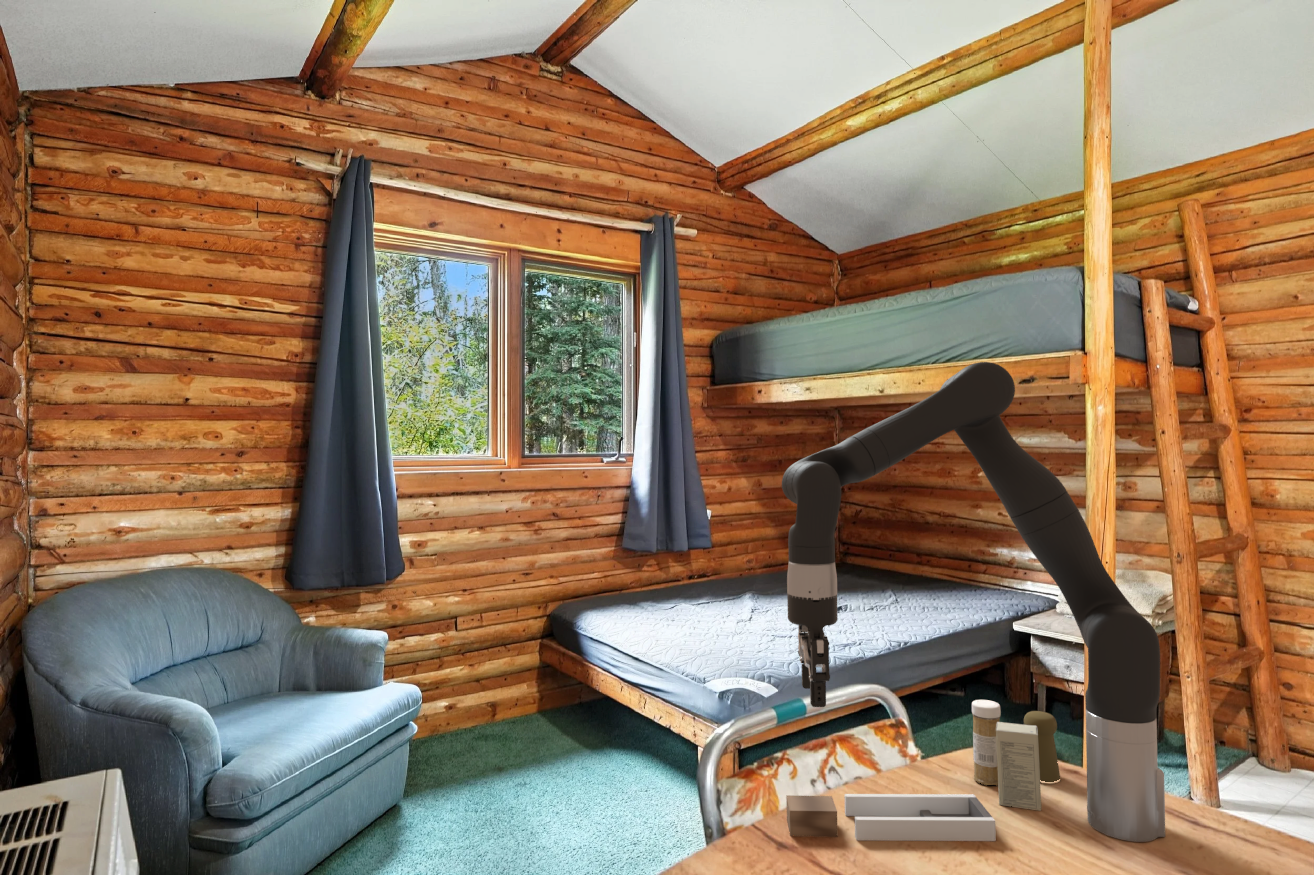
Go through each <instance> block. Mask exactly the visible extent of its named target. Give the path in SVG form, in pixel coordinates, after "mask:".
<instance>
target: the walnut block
mask: <svg viewBox="0 0 1314 875" xmlns="http://www.w3.org/2000/svg"><path fill="white" fill-rule="evenodd" d="M785 798H786V822H787V828H788V832H790V833H789V836H790V837H810V836H813V837H814V838H815V837H816V838H819V837H820V838H821V837H822V838H823V837H825V838H838V837H839V836H838V809H837V807H836V804H835V801H834V798H833V796H832V795H786V796H785ZM793 835H794V836H793Z"/></svg>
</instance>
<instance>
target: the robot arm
mask: <svg viewBox="0 0 1314 875" xmlns="http://www.w3.org/2000/svg"><path fill="white" fill-rule="evenodd" d="M1015 386H1016V385H1015V381H1014V379H1013V377H1012V375H1011V374H1010V372H1009V371H1008V370H1007V369H1006V368H1004V367H1003V366H1002V365H1000V364H998V363H994V362H989V361H980V362H975V363H971V364H969V365H967V366H965V367H963V368H962V369H960V370H959V371H958V372H956V373H955V374H953V375H952V376H951V377H949V378H948V379H947V380H945V382H944V383H943V384H942V385H941V387H940V389H939V390H937V391H936V392H935V393H933V394H931V395H929V396H928V397H926V398H925V399H922V400H921V401H919V402H917V403H915V404H914V405H911V406H910V407H908V408H905V409H903V410H901V411H899V412H897V413H895V414H894V415H893V414H892V415H891V416H889V417H887V418H885V419H883V420H880V421H879V422H877V423H874V424H872V425H870V426H867V427H866V428H864V429H863V430H861V431H859V432H857V433H855V434H853V435H851V436H849V437H847V438H845V440H843V441H841V442H840V443H837V444H836V445H835V444H834V446H831V447H827V448H825V449H822V450H820V451H818V452H817V451H816V452H815V453H812V454H811V455H808V456H806V457H803V458H801V459H799V460H798V461H796V462H794V463H792V464H791V465H790V466H789V467H788V468H787V469H786V470H785V471H784V474H783V475H782V480H781V489H782V492H783V494H784V495H785V497H786V498H787V499H788V500H789V501H790V502H792V503H793V504H796V517H795V523H794V524H793V525H792V526H791V527H790V528H789V530H788V538H787V540H788V541H787V543H788V567H787V574H786V576H787V577H786V584H787V585H786V586H787V587H786V589H787V593H786V594H787V595H786V596H787V619H788V621H789V622H790V623H791V624H793V625H796V626H798V633H797V634H798V635H797V639H798V646H797V648H798V651H797V654H798V656H799V662H800V664H801V686H802V688H803V689H807V690H809V696H810V697H809V700H810V701H809V702H810V705H811V707H813V708H825V707H826V706H827V684H826V683H827V682H829V681H830V680H831V675H830V648H829V647H830V646H829V645H830V642H829V639H828V636H826V635H825V632H824V628H825V627H827V626H833V625H835V624H837V622H838V619H839V618H838V616H839V615H838V577H837V576H838V575H837V569H836V540H835V532H836V528H837V524H838V518H839V513H840V508H841V503H842V502H841V500H842V487H844V486H846V485H849V484H854V483H860V482H864V481H866V480H868V479H870V478H872V477H875V476H876V475H878V474H880V473H882V472H883V471H885V470H888V469H889V468H891V467H892V466H895V465H896V464H898V463H899V462H901V461H903V460H904V459H906V458H907V457H909V456H910V455H912V454H914V453H916V452H917V451H919V450H921V448H923V447H925V446H926V445H928V444H930V443H931V442H933V441H935V440H937V439H938V438H940V437H942V436H943V435H946V434H948V433H950V432H952V431H954V432H955V433H956V434H957V435H958V437H959V439H960V440H961V441H962V442H963V444H964V446H965V447H966V448H967V449H968V450H969V452H970V453H971V455H972V456H973V457H974V459H975V460H976V462H977V464H978V465H979V468H981V470H982V472H983V473H984V475H985V477H986V478H987V481H988V482H989V484H990V486H991V487H992V489H993V490H994V492H995V493H996V495H997V497H998V498H999V500H1000V502H1001V504H1002V505H1003V507H1004V509H1005V511H1006V513H1007V515H1008V516H1009V518H1010V520H1011V521H1012V524H1013V525H1014V526H1015V529H1016V530H1017V532H1018V533H1019V535H1020V537H1021V538H1022V539H1023V540H1022V541H1023V542H1025V544H1026V545H1027V547H1028V549H1029V550H1030V551H1031V553H1032V554H1033V556H1034V557H1035V558H1036V559H1037V561H1038V562H1039V563H1040V564H1041V566H1042V567H1043V568H1044V569H1045V571H1046V572H1047V573H1048V575H1049V576H1050V577H1051V578H1052V579H1053V580H1054V582H1055V583H1056V586H1058V589H1059V590H1060V592H1061V594H1062V595H1063V597H1064V600H1065V602H1066V604H1067V606H1068V608H1069V610H1070V612H1071V614H1072V616H1073V617H1074V620H1075V622H1076V625H1077V627H1078V629H1079V631H1080V634H1081V637H1082V639H1083V642H1084V644H1085V646H1086V647H1087V661H1088V662H1087V664H1088V665H1087V667H1088V668H1087V671H1088V672H1087V678H1088V680H1087V681H1088V682H1087V688H1086V691H1085V694H1084V696H1085V698H1084V699H1085V736H1086V737H1085V741H1086V742H1085V744H1086V746H1085V747H1086V748H1085V749H1086V750H1085V752H1086V793H1087V795H1086V796H1087V797H1086V799H1087V800H1086V801H1087V802H1086V804H1087V805H1086V811H1087V812H1086V813H1087V823H1088V824H1089V825H1090V826H1091V827H1092V828H1093V829H1095V831H1096V830H1097V831H1098V832H1100V833H1102V834H1103V835H1106V836H1108V837H1112V838H1115V839H1117V840H1118V839H1119V840H1122V841H1128V842H1135V843H1136V842H1137V843H1139V842H1140V843H1143V842H1151V841H1154V840H1155V839H1158V838H1161V837H1162V838H1164V837H1166V806H1165V805H1166V801H1165V798H1166V797H1165V795H1166V794H1165V772H1164V771H1163V770H1162V769H1160V768H1159V767H1158V739H1157V738H1158V730H1157V729H1158V728H1157V725H1158V724H1157V709H1158V708H1157V707H1158V705H1159V702H1160V696H1161V695H1160V694H1161V693H1160V692H1161V689H1160V688H1161V649H1160V640H1159V636H1158V633H1157V631H1156V630H1155V627H1154V625H1152V624H1151V623H1150V622H1149V621H1148V620H1147V619H1146V618H1145V617H1144V616H1143V615H1142V614H1141V613H1139V611H1138V610H1136V609H1135V607H1134V606H1133V605H1132V604H1131V603H1130V602H1129V600H1128V599H1127V598H1126V596H1125V595H1124V594H1123V593H1122V591H1121V589H1119V587H1118V586H1117V584H1116V582H1115V581H1114V580H1113V579H1112V577H1111V576H1110V575H1109V572H1108V571H1107V570H1106V568H1105V567H1104V564H1103V563H1102V560H1101V558H1100V555H1099V552H1098V549H1097V547H1096V545H1095V542H1094V540H1093V537H1092V534H1091V532H1090V530H1089V528H1088V525H1087V523H1086V522H1085V519H1084V518H1083V516H1082V513H1081V511H1080V510H1079V509H1078V508H1079V507H1077V505H1076V504H1075V502H1074V501H1073V499H1072V497H1071V495H1070V494H1069V492H1068V490H1067V489H1066V487H1065V486H1064V485H1063V483H1062V482H1061V480H1060V479H1059V478H1058V477H1057V476H1056V475H1055V474H1054V473H1053V472H1052V471H1051V470H1049V469H1048V468H1047V467H1046V466H1045V465H1044V464H1042V463H1041V462H1039V460H1037V459H1036V458H1034V457H1033V456H1032V455H1031V454H1030V453H1028V452H1027V451H1026V450H1024V449H1023V448H1022V447H1021V446H1020V444H1018V443H1017V441H1016V440H1015V439H1014V437H1013V436H1012V435H1011V433H1010V431H1009V430H1008V429H1007V427H1006V425H1005V423H1004V421H1003V419H1002V417H1001V415H1002V414H1004V412H1006V411H1007V409H1009V407H1010V406H1011V404H1012V403H1013V400H1014V398H1015V393H1016V387H1015ZM817 668H821V672H817Z"/></svg>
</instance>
